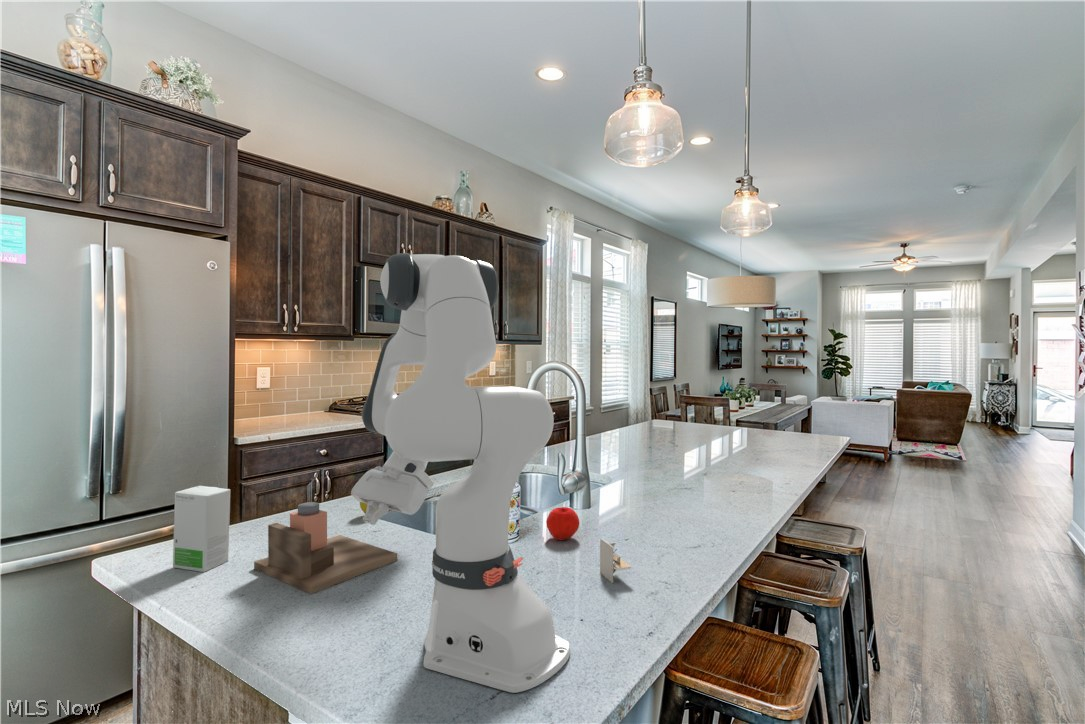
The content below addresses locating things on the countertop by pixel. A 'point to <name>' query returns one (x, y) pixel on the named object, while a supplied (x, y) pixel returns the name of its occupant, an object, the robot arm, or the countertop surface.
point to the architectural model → (610, 560)
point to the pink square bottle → (311, 523)
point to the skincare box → (201, 528)
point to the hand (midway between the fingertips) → (368, 522)
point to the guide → (317, 559)
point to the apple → (562, 523)
